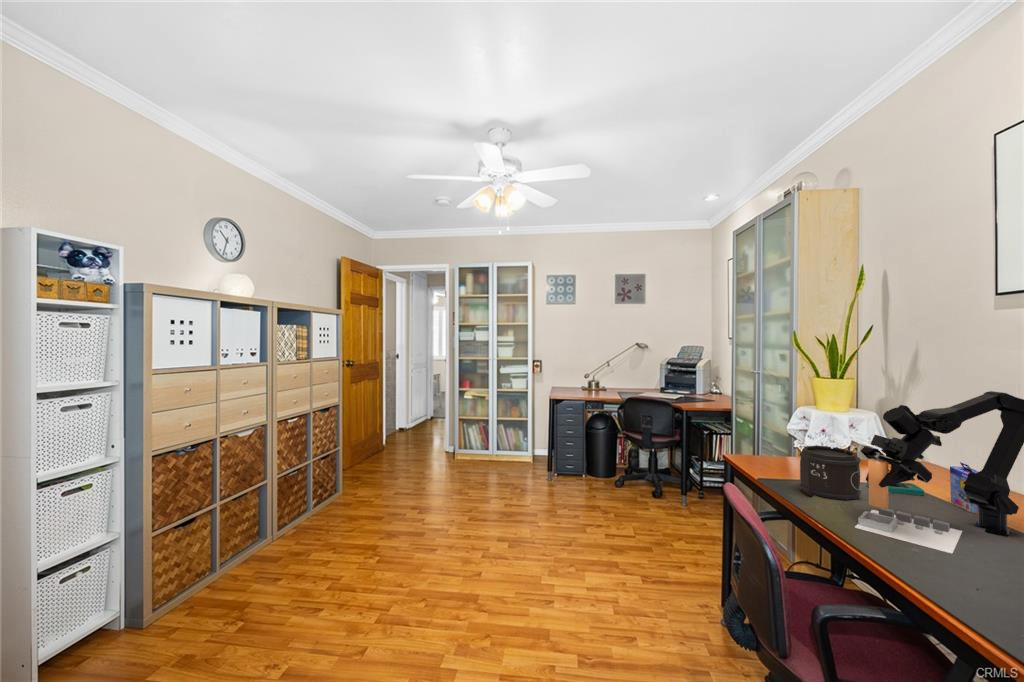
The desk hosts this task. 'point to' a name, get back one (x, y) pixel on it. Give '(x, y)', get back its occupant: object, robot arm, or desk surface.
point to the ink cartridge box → (961, 487)
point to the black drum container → (830, 472)
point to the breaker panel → (919, 530)
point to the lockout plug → (877, 483)
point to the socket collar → (878, 522)
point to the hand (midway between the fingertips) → (873, 483)
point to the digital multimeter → (904, 488)
